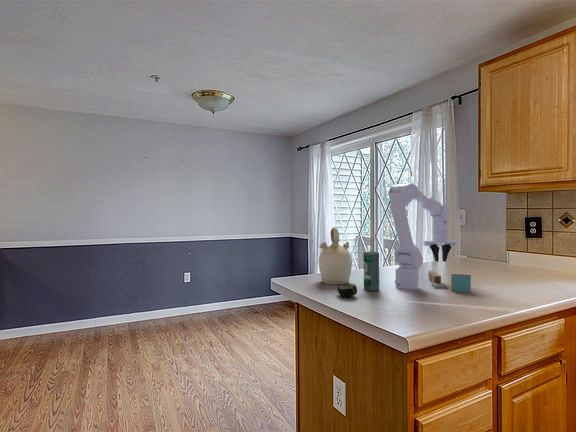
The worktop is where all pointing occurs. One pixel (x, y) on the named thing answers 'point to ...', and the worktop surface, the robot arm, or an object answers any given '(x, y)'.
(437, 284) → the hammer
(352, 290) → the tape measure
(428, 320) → the worktop surface
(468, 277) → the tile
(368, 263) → the can
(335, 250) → the jug
